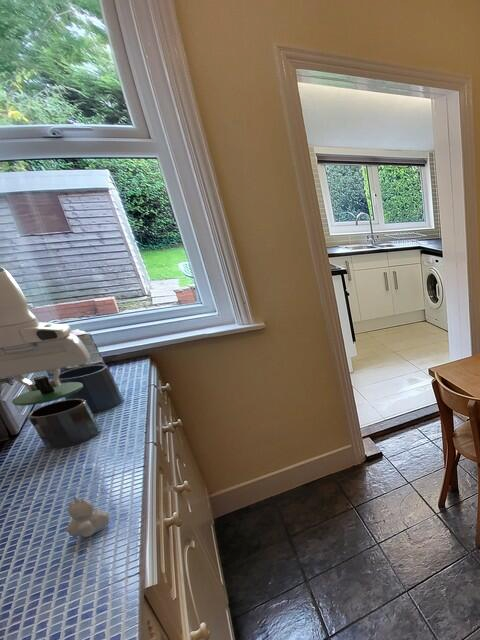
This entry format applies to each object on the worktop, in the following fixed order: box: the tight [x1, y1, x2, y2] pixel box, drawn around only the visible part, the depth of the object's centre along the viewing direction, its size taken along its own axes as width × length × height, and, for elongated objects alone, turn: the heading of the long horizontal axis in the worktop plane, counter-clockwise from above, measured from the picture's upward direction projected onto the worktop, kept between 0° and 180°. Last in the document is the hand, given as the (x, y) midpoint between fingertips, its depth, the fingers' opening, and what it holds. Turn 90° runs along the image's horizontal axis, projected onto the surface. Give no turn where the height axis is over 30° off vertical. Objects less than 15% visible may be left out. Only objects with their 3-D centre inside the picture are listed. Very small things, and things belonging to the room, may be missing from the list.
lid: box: [11, 375, 83, 407], centre depth 102 cm, size 12×12×5 cm
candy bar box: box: [70, 329, 107, 366], centre depth 147 cm, size 11×5×16 cm, turn 59°
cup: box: [26, 399, 101, 450], centre depth 106 cm, size 10×10×9 cm
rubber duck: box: [66, 495, 110, 538], centre depth 73 cm, size 5×7×8 cm
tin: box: [58, 365, 124, 415], centre depth 123 cm, size 11×11×12 cm
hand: (46, 388), depth 102 cm, fingers closed on lid, 2 cm apart
